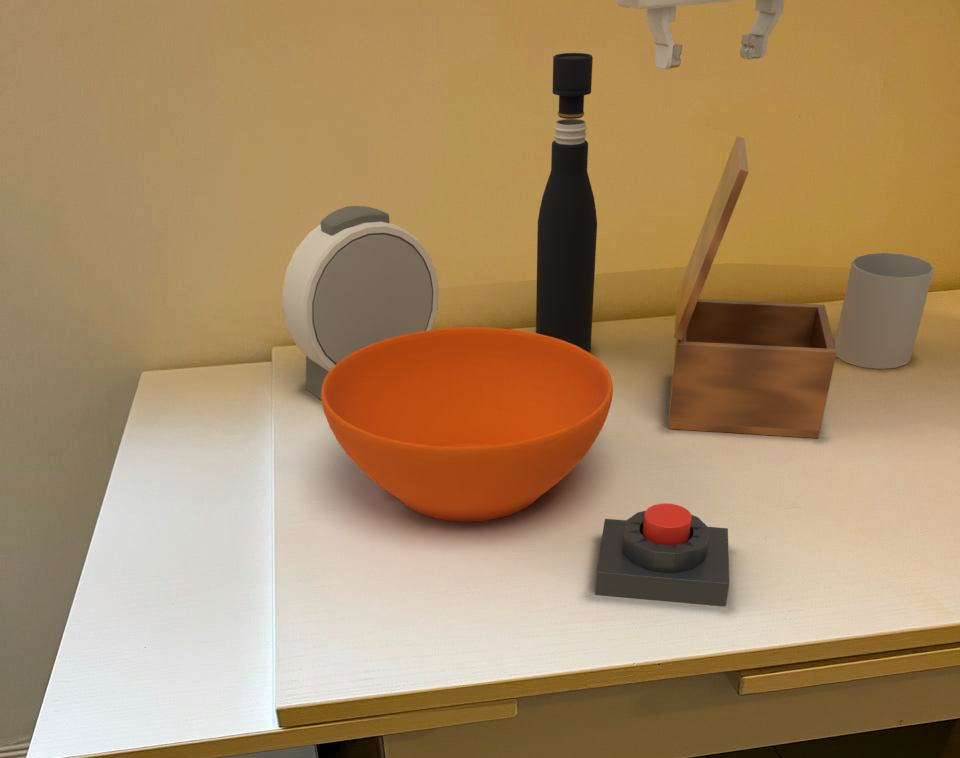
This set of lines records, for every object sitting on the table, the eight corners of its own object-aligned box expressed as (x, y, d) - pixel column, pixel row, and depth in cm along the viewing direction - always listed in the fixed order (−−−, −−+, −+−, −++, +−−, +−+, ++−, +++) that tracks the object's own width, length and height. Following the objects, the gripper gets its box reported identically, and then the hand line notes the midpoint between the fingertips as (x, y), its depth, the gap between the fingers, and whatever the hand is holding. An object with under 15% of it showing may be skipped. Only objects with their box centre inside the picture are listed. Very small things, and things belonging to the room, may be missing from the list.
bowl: (305, 449, 98) (291, 351, 91) (539, 405, 104) (541, 311, 98) (377, 584, 79) (366, 473, 73) (656, 521, 86) (667, 414, 80)
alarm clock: (407, 352, 116) (396, 185, 105) (456, 380, 110) (450, 206, 98) (282, 387, 109) (257, 213, 98) (327, 420, 102) (305, 237, 91)
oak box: (808, 385, 107) (824, 304, 102) (818, 438, 97) (836, 352, 92) (671, 377, 109) (680, 298, 104) (668, 428, 100) (677, 344, 94)
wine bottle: (524, 352, 116) (526, 56, 97) (560, 336, 119) (569, 48, 101) (565, 367, 112) (576, 63, 93) (601, 350, 116) (619, 54, 97)
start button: (689, 524, 79) (692, 504, 78) (688, 548, 76) (691, 529, 75) (643, 520, 79) (645, 501, 78) (641, 544, 76) (643, 525, 75)
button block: (724, 550, 82) (731, 508, 80) (725, 607, 76) (732, 563, 73) (603, 540, 84) (606, 499, 81) (594, 595, 77) (597, 552, 75)
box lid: (744, 138, 94) (736, 135, 94) (749, 171, 84) (740, 168, 84) (684, 294, 104) (677, 292, 104) (681, 340, 94) (673, 338, 94)
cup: (899, 374, 109) (923, 282, 103) (824, 360, 112) (843, 270, 106) (917, 348, 114) (940, 259, 108) (845, 335, 118) (864, 248, 112)
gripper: (650, -135, 73) (633, 79, 81) (857, -139, 80) (822, 58, 89) (602, -135, 77) (591, 68, 86) (802, -139, 84) (774, 48, 93)
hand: (710, 63), depth 87 cm, fingers open, 8 cm apart
